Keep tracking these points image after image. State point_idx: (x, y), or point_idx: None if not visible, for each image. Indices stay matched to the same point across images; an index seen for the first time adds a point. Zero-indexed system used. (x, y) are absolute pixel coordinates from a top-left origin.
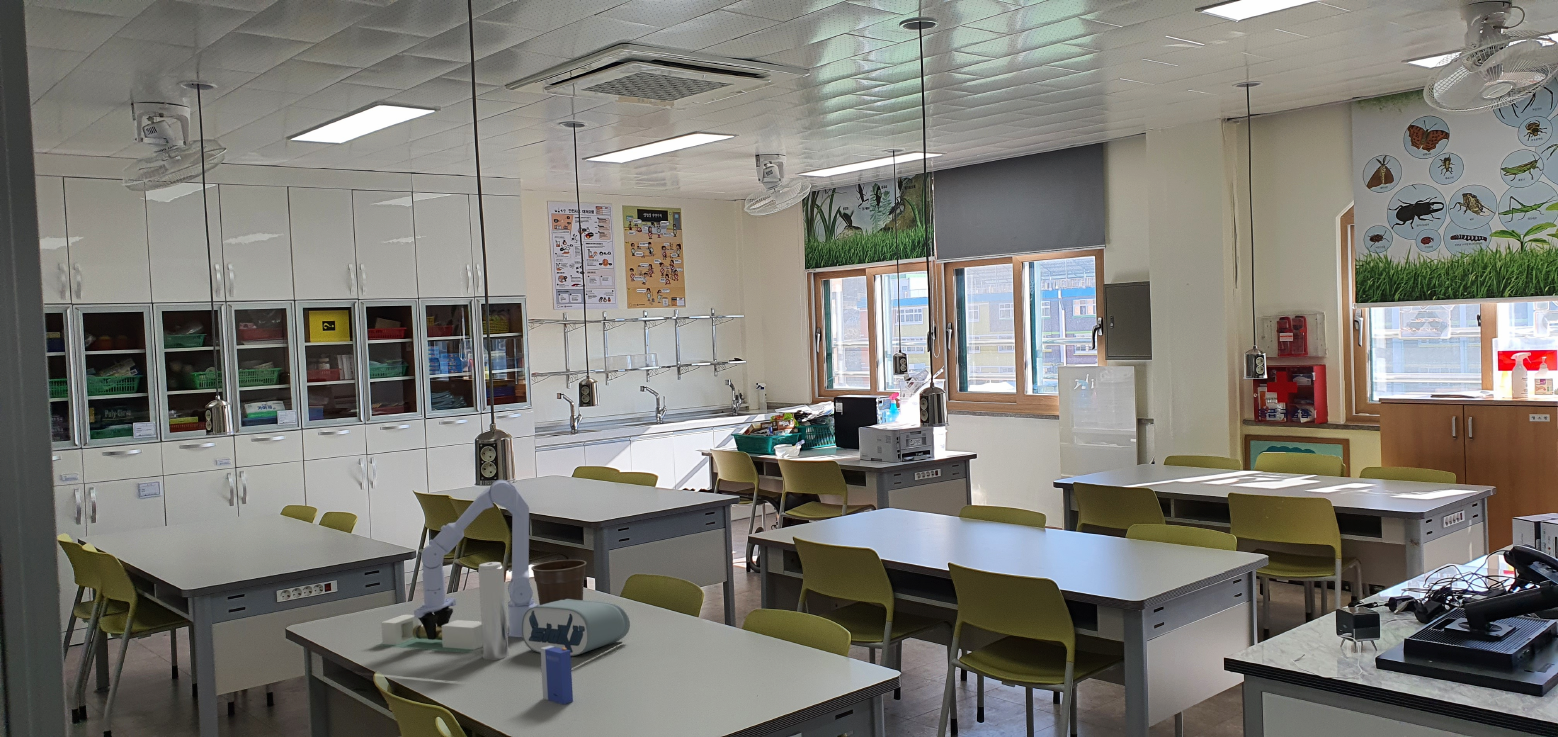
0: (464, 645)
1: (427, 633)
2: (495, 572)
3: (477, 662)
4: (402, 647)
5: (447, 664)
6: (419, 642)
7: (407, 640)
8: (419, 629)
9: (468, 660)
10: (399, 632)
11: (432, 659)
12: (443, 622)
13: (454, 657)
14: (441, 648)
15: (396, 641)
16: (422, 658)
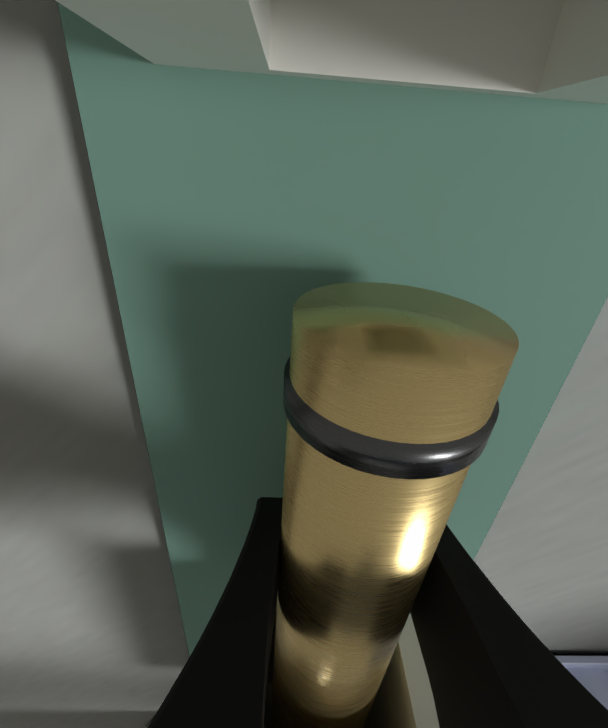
0: None
1: (243, 555)
2: None
3: (122, 715)
4: (109, 255)
5: (35, 668)
6: None
7: (387, 84)
8: (309, 453)
9: (127, 692)
10: (185, 14)
11: (50, 596)
12: (445, 692)
13: (135, 646)
14: (214, 565)
15: (139, 48)
16: (28, 549)
